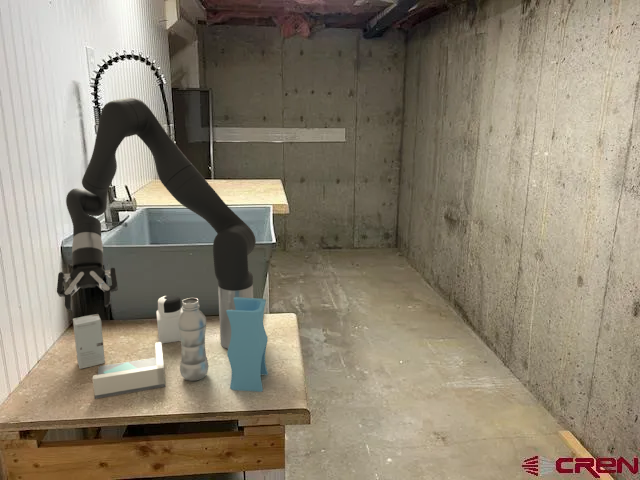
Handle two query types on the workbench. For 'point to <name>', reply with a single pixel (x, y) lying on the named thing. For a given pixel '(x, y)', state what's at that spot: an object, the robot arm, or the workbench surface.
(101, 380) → the corner arena
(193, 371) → the plastic bottle
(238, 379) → the vase
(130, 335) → the workbench surface
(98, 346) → the skincare box
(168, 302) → the medicine bottle
